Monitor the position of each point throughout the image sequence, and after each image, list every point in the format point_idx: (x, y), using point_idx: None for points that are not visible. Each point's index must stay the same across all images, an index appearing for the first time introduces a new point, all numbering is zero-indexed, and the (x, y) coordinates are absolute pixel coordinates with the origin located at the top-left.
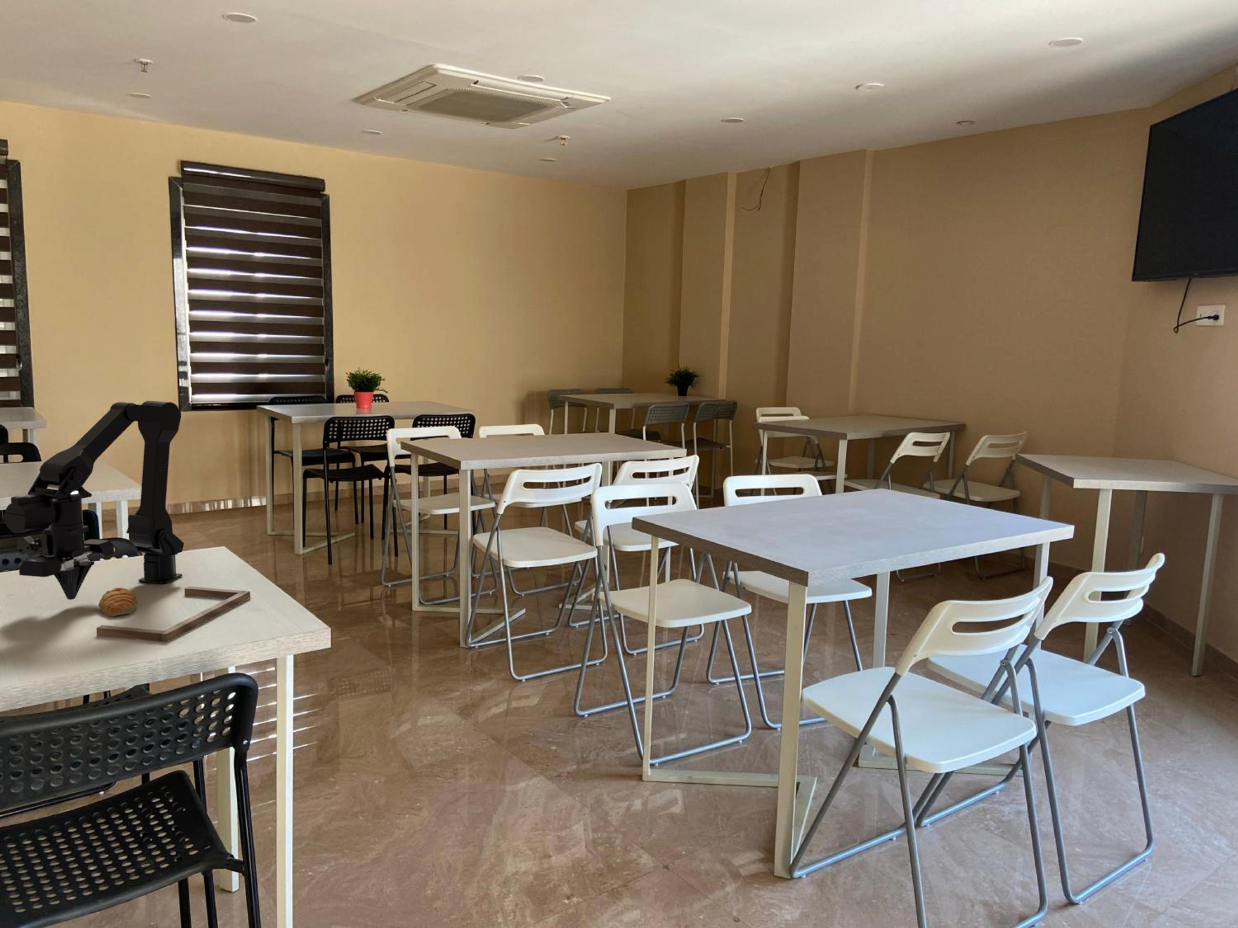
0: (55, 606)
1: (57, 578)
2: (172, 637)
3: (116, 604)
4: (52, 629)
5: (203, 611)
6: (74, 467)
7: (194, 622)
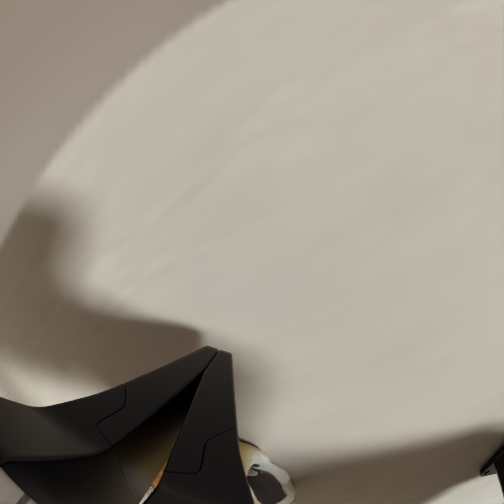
0: (224, 252)
1: (68, 409)
2: None
3: (153, 486)
4: (37, 345)
5: None
6: None
7: None
